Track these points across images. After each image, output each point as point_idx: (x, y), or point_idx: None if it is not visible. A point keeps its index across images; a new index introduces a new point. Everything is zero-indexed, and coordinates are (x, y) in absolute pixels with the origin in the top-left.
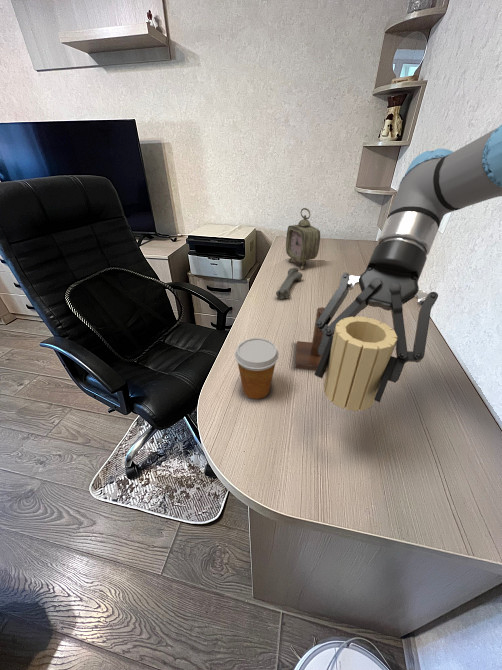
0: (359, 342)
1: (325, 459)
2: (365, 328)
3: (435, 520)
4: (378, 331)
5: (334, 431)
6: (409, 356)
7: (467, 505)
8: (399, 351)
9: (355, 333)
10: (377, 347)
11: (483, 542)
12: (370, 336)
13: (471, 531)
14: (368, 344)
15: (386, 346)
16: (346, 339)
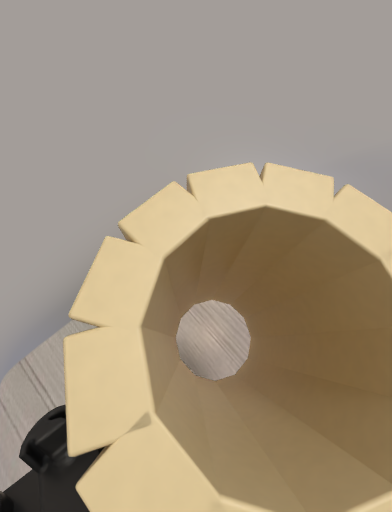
0: (216, 195)
1: (193, 312)
2: (345, 450)
3: (61, 362)
4: (260, 481)
5: (216, 359)
6: (38, 487)
7: (31, 424)
8: (87, 456)
9: (342, 390)
10: (127, 234)
11: (10, 388)
12: (280, 446)
13: (23, 389)
14: (174, 214)
15: (91, 281)
16: (271, 171)
